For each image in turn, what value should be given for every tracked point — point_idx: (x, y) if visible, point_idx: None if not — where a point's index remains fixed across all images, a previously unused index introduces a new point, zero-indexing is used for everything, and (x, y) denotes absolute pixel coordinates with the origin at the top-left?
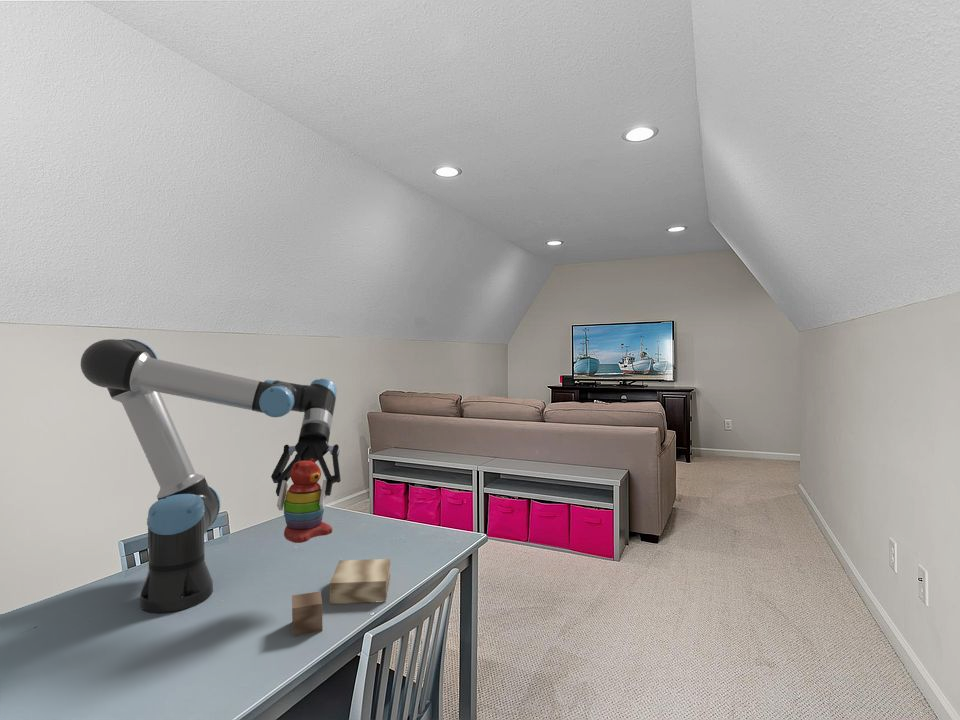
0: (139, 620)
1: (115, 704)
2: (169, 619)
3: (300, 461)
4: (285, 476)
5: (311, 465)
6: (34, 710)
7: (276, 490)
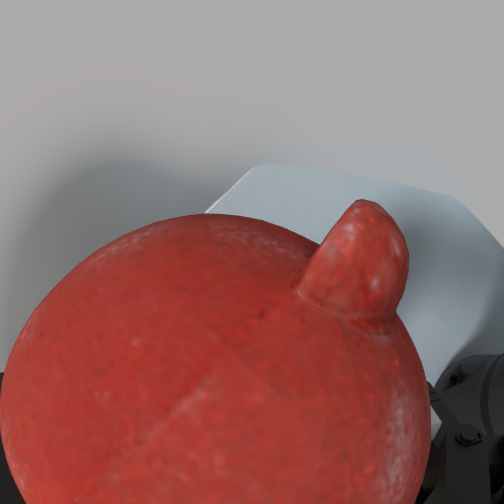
0: (477, 340)
1: (384, 187)
2: (446, 342)
3: (314, 424)
4: (443, 468)
5: (63, 278)
6: (440, 193)
7: (430, 388)
